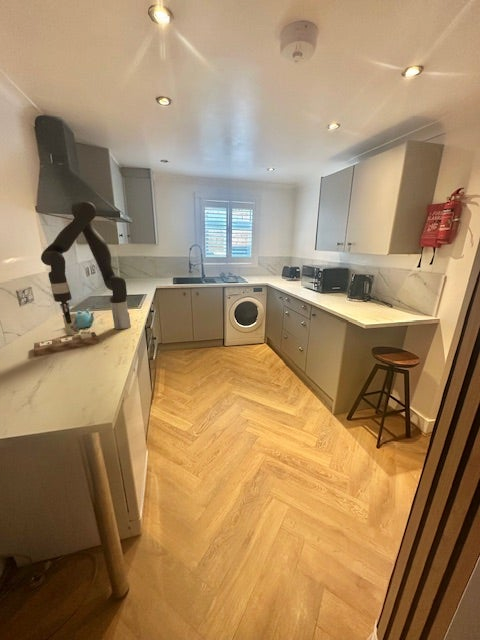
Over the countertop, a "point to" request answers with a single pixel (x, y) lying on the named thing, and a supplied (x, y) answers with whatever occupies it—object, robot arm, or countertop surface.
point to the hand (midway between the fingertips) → (69, 323)
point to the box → (71, 325)
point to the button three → (85, 335)
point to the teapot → (84, 319)
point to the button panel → (64, 344)
